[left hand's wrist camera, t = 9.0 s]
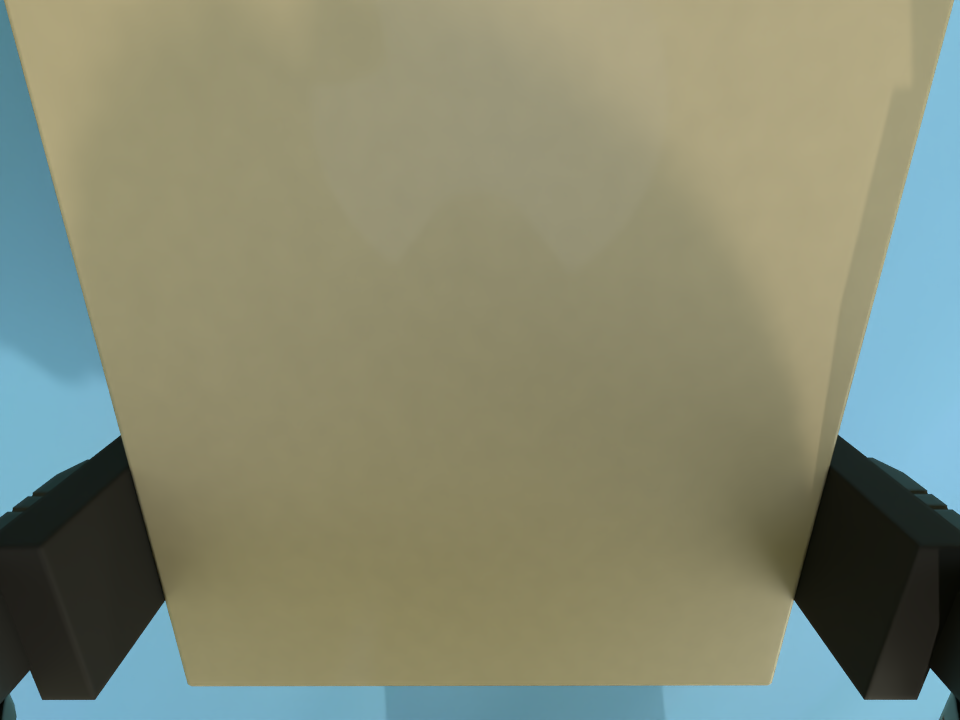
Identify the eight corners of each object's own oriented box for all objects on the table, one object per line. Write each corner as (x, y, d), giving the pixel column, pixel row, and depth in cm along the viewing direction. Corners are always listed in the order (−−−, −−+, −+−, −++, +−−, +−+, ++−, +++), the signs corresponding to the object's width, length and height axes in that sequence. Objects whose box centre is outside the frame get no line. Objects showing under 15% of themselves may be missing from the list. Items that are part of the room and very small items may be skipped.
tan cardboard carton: (239, -346, 12) (-535, -1969, 3) (717, -345, 12) (1484, -1955, 3) (328, 430, 19) (186, 688, 10) (630, 430, 19) (772, 687, 10)
